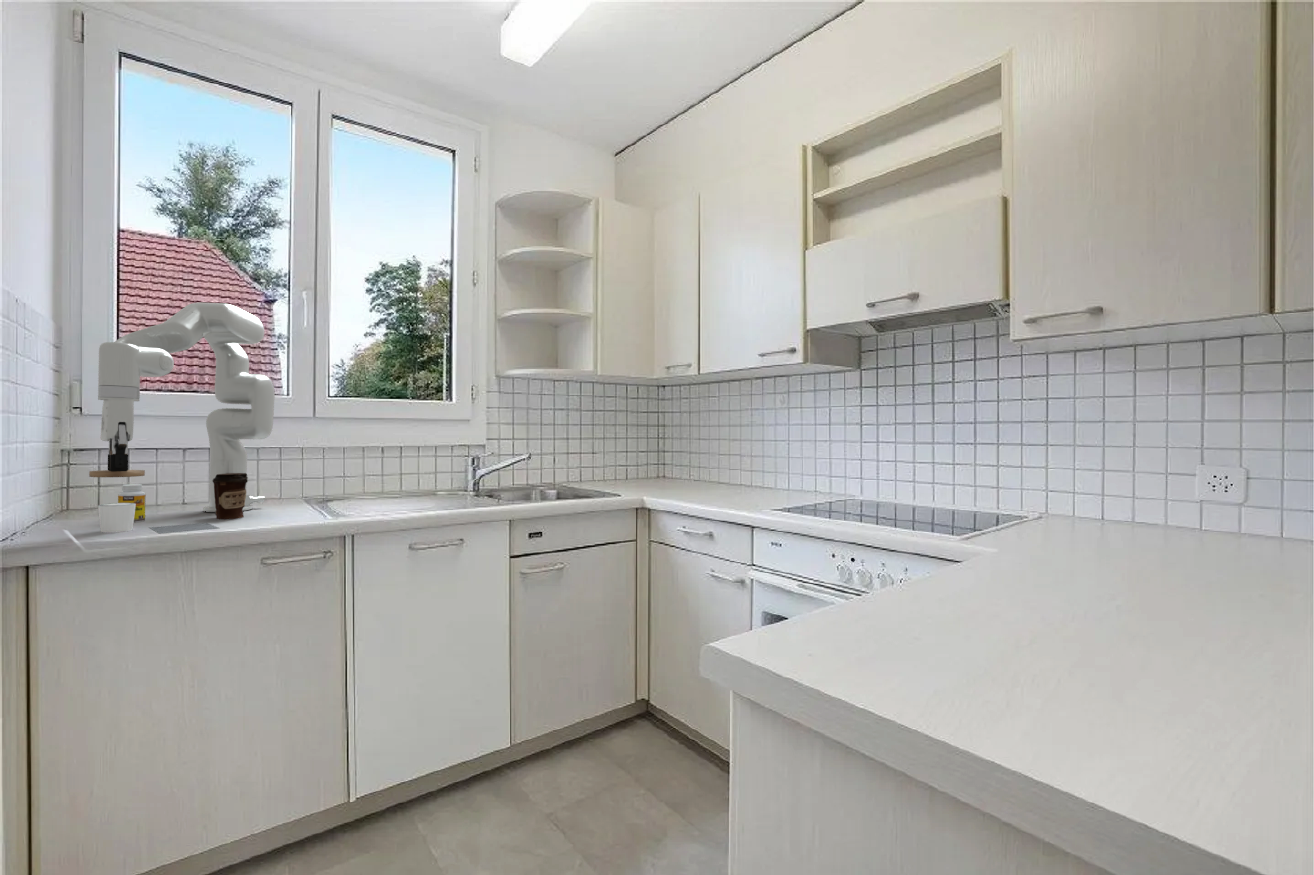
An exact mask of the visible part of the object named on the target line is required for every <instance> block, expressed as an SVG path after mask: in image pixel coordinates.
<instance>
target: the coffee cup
mask: <svg viewBox="0 0 1314 875" xmlns="http://www.w3.org/2000/svg"><path fill="white" fill-rule="evenodd" d="M248 479H249V477H248V473H247V474H246V473H225V474H217V475H216V477H215V478H214V479H213V483H214V497H215V508H216V512H215V516H216V520H237V519H243V518H244V511H242V509H243V507H244V506H245V499H246V489H245V487H246V483H247V484H248V481H249V480H248Z"/></svg>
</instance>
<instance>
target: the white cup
mask: <svg viewBox="0 0 1314 875" xmlns="http://www.w3.org/2000/svg"><path fill="white" fill-rule="evenodd" d="M135 507H136V504H135V503H118V502H111V503H110V502H109V503H104V504H98V505H97V508H98V516H99V527H100V533H105V534H107V533H111V534H112V533H125V532H129V531H133V528H134V523H135V522H134V514H135Z"/></svg>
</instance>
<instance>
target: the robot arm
mask: <svg viewBox="0 0 1314 875" xmlns="http://www.w3.org/2000/svg"><path fill="white" fill-rule="evenodd" d="M264 337H265V327H264V325H263V323H262V321H261V320H260V319H259V318H258V317H257V316H255V315H253V314H252V313H249V312H247V311H246V310H243V309H242V308H240V307H238V306H235V305H233V304H229V303H225V302H224V303H221V302H193V303H189V304H188V305H186V306H184V307H183V308H182V309H180V310H178V311H177V312H176V313H175V314H173V315H172V316H171V317H169V318H168V319H167V320H165V321H164V322H162V323H158V324H155V325H151V326H147V327H145V328H143V329H139V330H136V331H132V332H130V333H127V334H125V335H123V336H121V337H119V338H118V339H116V340H115V341H107V342H103V343H101V344H100V345H99V347H98V378H97V379H98V380H97V381H98V386H97V387H98V388H97V400H98V401H99V400H100V401H103V403H102V410H101V422H100V424H101V425H100V426H101V427H100V440H101V441H102V442H108V454H107V470H108V471H112V472H115V471H128V470H129V454H128V453H129V448H128V447H129V444H128V443H129V442H130V441H132V440H133V437H134V426H135V425H134V423H135V422H134V420H135V419H134V417H135V416H134V415H135V414H134V413H135V412H134V411H135V410H134V408H135V406H134V403H135V402H140V400H141V399H140V398H141V397H140V396H141V395H140V394H141V393H140V392H141V391H140V390H141V389H140V388H141V387H140V386H141V377H143V378H146V377H147V378H159V377H164V376H166V375H168V374H170V373H171V372H172V371H173V369H174V367H175V366H174V365H175V361H174V358H173V356H172V355H171V354H174V353H179V352H183V351H187V350H189V349H191V348H192V347H194V346H195V345H196V344H198V342H200V341H201V340H202V339H203V338H204V340H205V341H206V342H207V343H208V344H209V346H210V348H211V349H212V351H213V353H214V355H215V356H214V357H215V376H214V396H215V399H216V400H217V401H218V402H220V403H223V404H227V405H248V406H249V405H250V407H251V408H234V407H233V408H227V407H226V408H217V409H215V410H211V412H210V413H209V414H208V415H207V417H206V421H205V427H206V431H207V435H208V442H209V496H208V497H209V498H208V501H209V502H208V505H207V506H203V507H202V512H205V511H206V513H216V508H215V497H214V483H213V479H214V478H215V477H216V475H217V474H225V473H246V474H247V475H248V452H247V450H246V448H245V446H244V444H243V443H242V442H241V440H265V439H267V438H268V437H269V436H270V435H271V433H272V431H273V425H274V410H275V398H276V397H275V396H276V393H275V386H274V384H273V381H272V380H271V378H270V377H269V376H266V375H264V374H257V373H256V374H253V373H251V374H250V373H249V372H250V358H249V356H248V354H247V352H246V351H245V350H244V349H243V347H242V346H241V345H255V344H258V343H260V342H261V341H262V340H263V339H264ZM110 451H112V455H110ZM247 484H248V482H247V483H246V487H245V489H246V499H245V506H244V507H243V509H242V512H245V511H249V510H252V509H253V505H252V504H253V503H254V504H255V503H264V502H265V496H264V495H262V496H252V495H250V494H248V492H247V488H248V487H247V486H248V485H247Z"/></svg>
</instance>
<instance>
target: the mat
mask: <svg viewBox="0 0 1314 875" xmlns="http://www.w3.org/2000/svg"><path fill="white" fill-rule="evenodd" d="M148 528H149V529H151V530H152V531H153V532H156V533H157V534H160V535H161V534H171V533H181V532H192V531H205V530H215V529H216V530H217V529H219V526H216V525H213V524H212V523H209V522H199V523H188V524H187V523H186V524H175V525H173V524H172V525H161V526H153V527H152V526H151V527H148Z"/></svg>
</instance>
